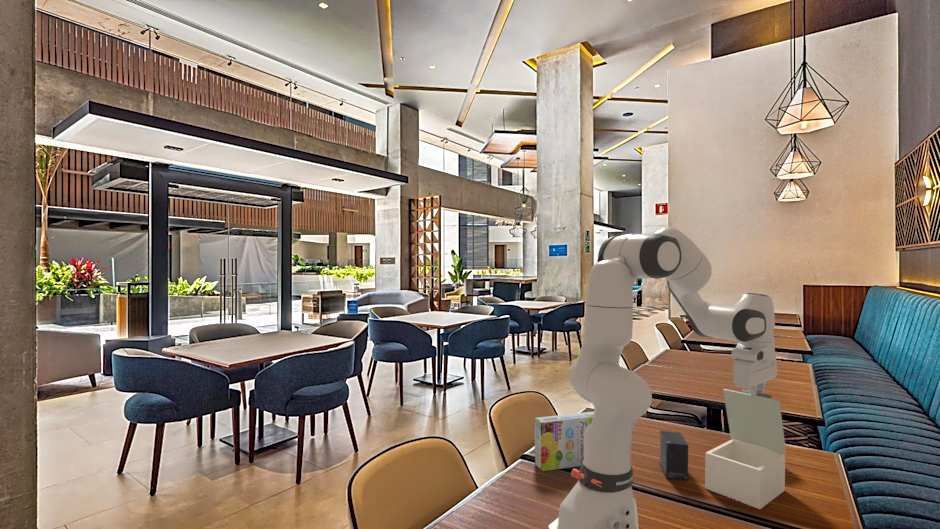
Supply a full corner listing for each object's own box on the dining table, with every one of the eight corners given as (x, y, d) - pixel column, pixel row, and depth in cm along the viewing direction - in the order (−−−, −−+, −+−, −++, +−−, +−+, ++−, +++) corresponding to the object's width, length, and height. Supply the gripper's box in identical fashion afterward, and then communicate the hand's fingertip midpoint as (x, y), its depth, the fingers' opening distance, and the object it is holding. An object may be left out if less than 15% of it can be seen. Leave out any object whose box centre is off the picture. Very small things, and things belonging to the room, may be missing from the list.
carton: (759, 509, 122) (760, 470, 122) (705, 488, 133) (705, 452, 133) (784, 490, 131) (785, 454, 131) (731, 472, 143) (731, 439, 142)
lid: (778, 401, 128) (785, 392, 130) (723, 389, 139) (730, 382, 142) (785, 453, 131) (791, 444, 134) (730, 438, 142) (737, 429, 145)
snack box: (595, 456, 154) (594, 410, 154) (604, 464, 149) (604, 416, 149) (534, 464, 149) (533, 416, 149) (541, 472, 144) (541, 422, 143)
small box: (689, 480, 138) (689, 444, 137) (665, 478, 139) (665, 443, 139) (681, 465, 148) (681, 431, 148) (658, 463, 149) (658, 430, 149)
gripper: (760, 343, 145) (760, 389, 145) (728, 352, 132) (728, 402, 132) (783, 346, 140) (783, 394, 140) (752, 356, 127) (753, 408, 127)
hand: (756, 398), depth 136 cm, fingers closed on lid, 2 cm apart
